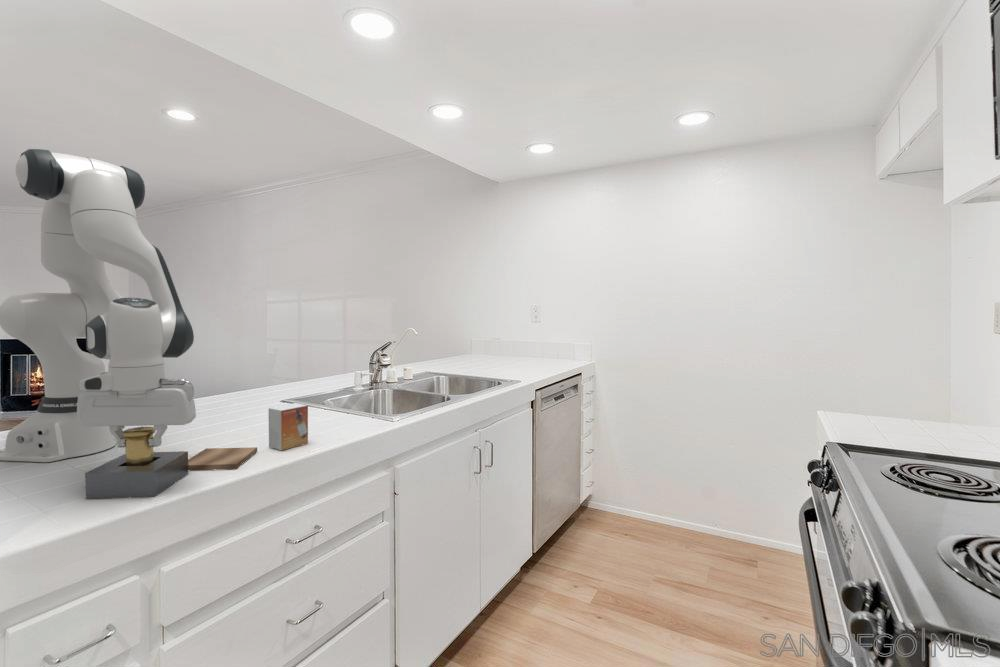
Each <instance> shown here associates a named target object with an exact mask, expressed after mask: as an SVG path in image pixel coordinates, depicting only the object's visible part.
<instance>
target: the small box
mask: <svg viewBox="0 0 1000 667" xmlns="http://www.w3.org/2000/svg"><path fill="white" fill-rule="evenodd" d="M308 408H309V406H308V405H307V404H303V403H298V402H294V403H289V404H285V405H279V406H275V407H268V448H270V447H271V448H270V449H274V448H275V449H274V450H277V449H278V451H281V450H282V451H284V450H287V449H291V448H296V447H300V446H299V445H301V446H303V445H302V444H305V445H307V444H306V443H308V444H309V409H308ZM295 446H296V447H295Z"/></svg>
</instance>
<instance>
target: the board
mask: <svg viewBox="0 0 1000 667" xmlns="http://www.w3.org/2000/svg"><path fill="white" fill-rule="evenodd" d="M256 452H257V453H258V447H257V446H255V447H220V448H219V447H217V448H215V447H212V448H211V447H209V448H207V447H206V448H205V449H203V450H201V451H199V452H198V453H197V454H195V455H193V456H192V457H190V458H188V470H190V471H214V469H227V470H237V469H238V467H239V466H240V465H241V464H242V463H243V462H245V461H246V460H247V459H248V460H250V459H251V458H252V457H253V456H255V455H256V454H257V453H256ZM255 453H256V454H255ZM252 455H253V456H252ZM251 456H252V457H251ZM250 457H251V458H250ZM249 458H250V459H249ZM248 460H247V461H248ZM247 461H246V462H247ZM246 462H245V463H246ZM243 464H244V463H243ZM243 464H242V465H243ZM242 465H241V466H242ZM241 466H240V467H241ZM240 467H239V468H240ZM236 468H237V469H236Z"/></svg>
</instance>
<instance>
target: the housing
mask: <svg viewBox="0 0 1000 667" xmlns="http://www.w3.org/2000/svg"><path fill="white" fill-rule="evenodd" d="M153 453H154V461H153V462H152V463H150V464H148V465H146V466H126V453H124V454H122V455H120V456H118V457H115V458H114V459H112V460H109V461H108V462H105V463H104V464H101V465H99V466H97V467H94V468H93V469H91V470H89V471H86V472H85V473H84V486H85V489H84V490H85V500H93V499H94V500H97V499H100V500H101V498H102V499H126V498H127V499H128V498H129V497H131V498H153V497H157V496H158V495H159V493H160V494H161V493H163V492H164V491H166V490H167V489H169V488H170V487H171V486H173V485H174V484H175V482H176V483H177V482H178V480H179V481H180V480H181V479H183V478H185V477H186V476H188V475H189V472H190V471H188V459H189V451H185V450H183V451H153ZM156 495H157V496H156Z"/></svg>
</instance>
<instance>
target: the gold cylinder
mask: <svg viewBox="0 0 1000 667" xmlns="http://www.w3.org/2000/svg"><path fill="white" fill-rule="evenodd" d="M155 434H156V431H155V430H154V426H137V427H132V428H128V429H125V430H123V437H125V442H126V447H125V454H126V466H146V465H148V464H150V463H152V462H153V461H154V453H153V452H154V447H149V441H148V439H149V438H152V437H154V435H155Z"/></svg>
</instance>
